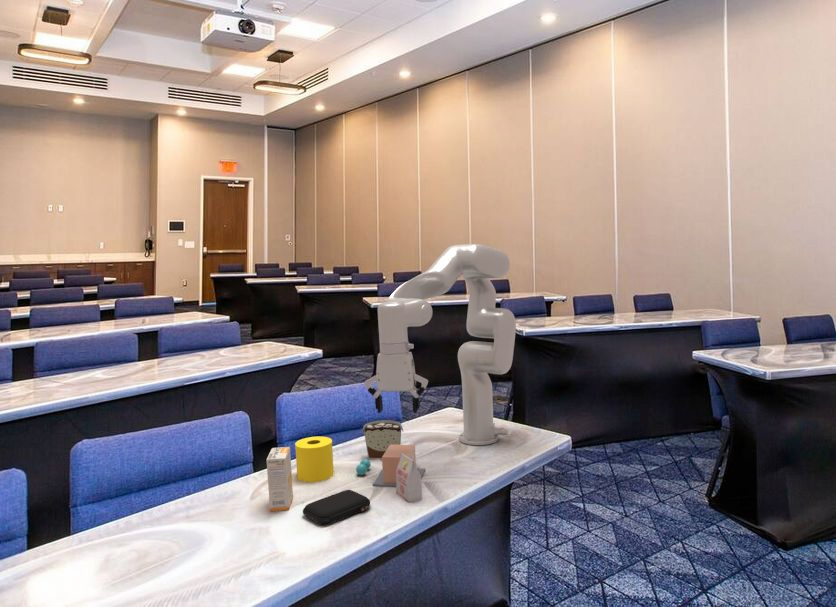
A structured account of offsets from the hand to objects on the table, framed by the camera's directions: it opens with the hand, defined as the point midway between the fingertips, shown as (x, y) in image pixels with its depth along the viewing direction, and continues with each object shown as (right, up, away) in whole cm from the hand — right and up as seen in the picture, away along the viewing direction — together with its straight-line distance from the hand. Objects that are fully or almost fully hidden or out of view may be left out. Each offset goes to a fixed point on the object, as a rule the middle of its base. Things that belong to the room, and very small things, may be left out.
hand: (397, 411), depth 158 cm
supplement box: (-28, -21, -12) cm, 37 cm away
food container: (-4, -17, +20) cm, 27 cm away
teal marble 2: (-10, -18, +5) cm, 21 cm away
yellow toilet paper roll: (-23, -19, +6) cm, 30 cm away
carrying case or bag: (-13, -21, -18) cm, 31 cm away
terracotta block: (+1, -18, +1) cm, 18 cm away
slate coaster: (+1, -18, +1) cm, 18 cm away
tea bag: (+3, -19, -11) cm, 22 cm away
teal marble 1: (-9, -18, +9) cm, 22 cm away
